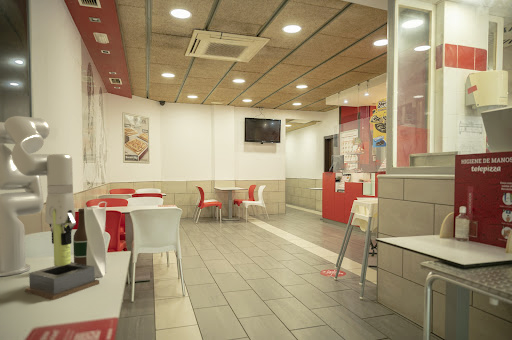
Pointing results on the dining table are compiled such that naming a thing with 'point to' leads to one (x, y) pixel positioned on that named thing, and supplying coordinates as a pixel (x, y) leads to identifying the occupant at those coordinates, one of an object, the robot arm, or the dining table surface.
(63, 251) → the tube
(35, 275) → the grey open tray box
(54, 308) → the dining table surface
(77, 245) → the beer bottle
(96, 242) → the skyscraper
